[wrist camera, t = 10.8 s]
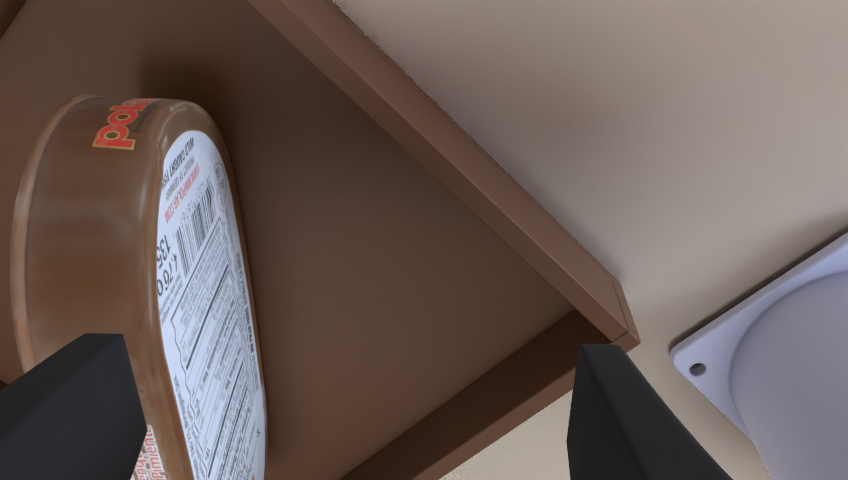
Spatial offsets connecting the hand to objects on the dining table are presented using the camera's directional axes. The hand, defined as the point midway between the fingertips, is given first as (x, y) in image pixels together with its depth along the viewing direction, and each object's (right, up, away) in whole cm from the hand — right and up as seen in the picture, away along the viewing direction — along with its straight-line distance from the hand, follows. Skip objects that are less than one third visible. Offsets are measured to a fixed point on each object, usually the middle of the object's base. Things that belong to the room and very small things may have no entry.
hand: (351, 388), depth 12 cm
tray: (-6, +1, +12) cm, 13 cm away
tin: (-5, +1, +11) cm, 13 cm away
